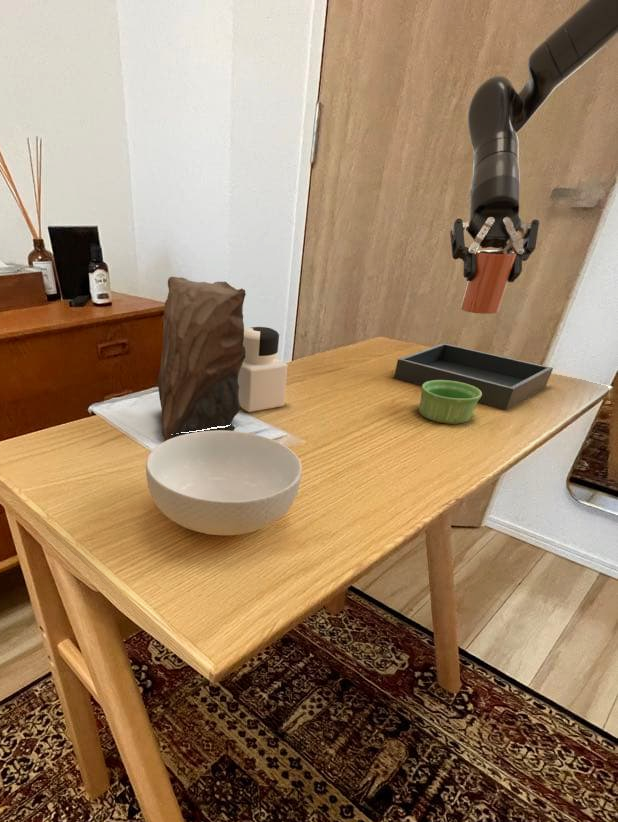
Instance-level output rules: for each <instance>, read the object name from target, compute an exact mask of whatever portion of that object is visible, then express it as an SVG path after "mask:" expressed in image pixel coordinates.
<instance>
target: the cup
mask: <svg viewBox="0 0 618 822" xmlns="http://www.w3.org/2000/svg"><path fill="white" fill-rule="evenodd" d="M475 254H476V274H475V276H474V278H473V279H472V281H467V284H466V288H465V291H464V295H463V299H462V302H461V306H460V310H462V311H464V312H468V313H473V314H481V315H482V314H484V315H489V314H490V315H491V314H496V313H499V310H500V307H501V305H502V300H503V297H504V294H505V292H506V288H507V287H508V286H507V285H508V283H509V282H508V279H509V276H510V273H511V270H512V267H513V264H514V261H515V258H516V254H517V253H514V252H509V251H501V250H496V249H494V250H493V249H485V250H484V249H482V250H477V251H476V252H475Z"/></svg>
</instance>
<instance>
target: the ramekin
mask: <svg viewBox="0 0 618 822" xmlns="http://www.w3.org/2000/svg"><path fill="white" fill-rule="evenodd" d="M481 396H482V392H481V391H480V390H479V389H478V388H476V387H474V386H472V385H469V384H466V383H462V382H457V381H450V380H432V381H428V382H425V383H424V384H423V385H422V386H421V396H420V402H419V406H418V411H419V413H420V415H421V416H422V417H424V418H425V419H427V420H430V421H433V422H437V423H442V424H452V425H453V424H454V425H455V424H463V423H466V422H468V421H469V420H471V418H472V416H473V414H474V411H475V410H476V407H477V404H478V403H479V402H478V400H479V399H480V398H481Z"/></svg>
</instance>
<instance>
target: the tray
mask: <svg viewBox="0 0 618 822" xmlns="http://www.w3.org/2000/svg"><path fill="white" fill-rule="evenodd" d="M553 369H554V367H550V366H548V365H547V366H546V365H542V364H538V363H533V362H529V361H524V360H519V359H516V358H511V357H507V356H502V355H498V354H493V353H489V352H484V351H480V350H475V349H471V348H466V347H463V346H459V345H453V344H449V343H443V342H442V343H440V344H438V345H434V346H432V347H429V348H425V349H423V350H420V351H418V352H414V353H411V354H409V355H406V356H404V357H400V358H398V359H397V361H396V366H395V371H394V375H393V379H395V380H400V381H403V382H406V383H410V384H414V385H417V386H421V387H422V385H423V384H424V383H425V382H428V381H432V380H450V381H457V382H462V383H466V384H469V385H472V386H474V387H476V388H478V389H479V390H480V391H481V392H482V396H481V398H480V399H479V400H478V402H477V403H480V404H483V405H487V406H489V407H490V406H491V407H493V408H498V409H501V410H505V411H507V410H509V409H510V408H512V407H514V406H515V405H517V404H519V403H521V402H522V401H524V400H526V399H527V398H529V397H531V396H533V395H534V394H536V393H537V392H539V391H541V390H543V389H545V388H546V386H547V384H548V382H549V379H550V377H551V375H552V372H553Z"/></svg>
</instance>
